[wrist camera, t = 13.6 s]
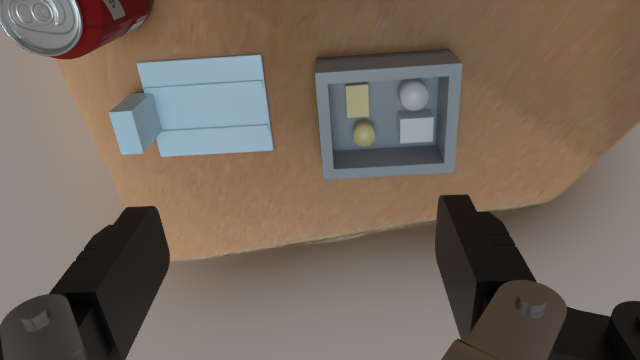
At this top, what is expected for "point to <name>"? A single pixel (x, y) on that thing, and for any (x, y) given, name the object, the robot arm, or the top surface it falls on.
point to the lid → (196, 107)
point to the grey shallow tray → (388, 113)
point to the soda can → (69, 24)
